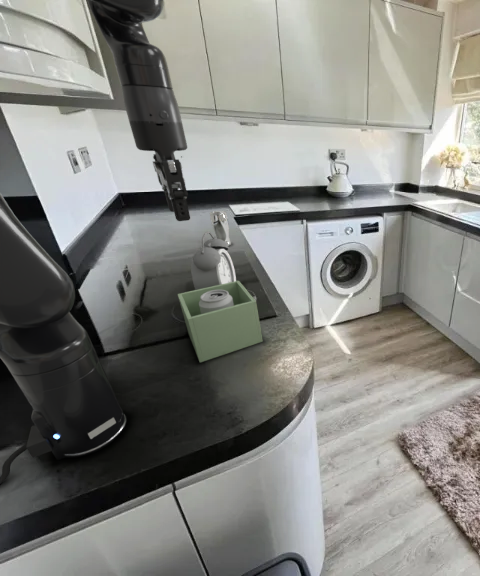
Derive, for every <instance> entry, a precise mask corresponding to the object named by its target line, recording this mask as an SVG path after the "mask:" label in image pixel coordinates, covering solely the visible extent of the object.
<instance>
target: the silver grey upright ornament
mask: <svg viewBox="0 0 480 576" xmlns="http://www.w3.org/2000/svg"><path fill="white" fill-rule="evenodd" d="M209 217H210V223H211V224H210V225H211V227H212V230H213V232H214V235H215V237H216V239H221V240H223V241H225V242H226V243H227V245H228V247H230V246H232V241H231V238H230V224H229V223H230V222H229V218H228V215H227V211H225V210H215V211H210V212H209Z"/></svg>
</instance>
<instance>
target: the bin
mask: <svg viewBox="0 0 480 576" xmlns="http://www.w3.org/2000/svg"><path fill="white" fill-rule="evenodd" d="M212 290H226V291H227V292H228V293H229V295H231V296H232V299H233V304H234V306H231V307H227V308H223V309H219V310H216V311H212V312H208V313H204V314H201V311H200V307H199V302H200V300H201V299H200V297H201V295H202V294H204V293H206V292H208V291H212ZM177 298H178V301H179V305H180V308H181V312H182V315H183V319H184V322H185V326H186V329H187V330H186V331H187V334H188V336H189V338H190V341H191V344H192V346H193V349H194V351H195V354H196V357H197V359H198V361H199V363H203V362H206V361H209V360H213V359H215V358H218V357H221V356H224V355H227V354H230V353H234V352H236V351H239V350H242V349H245V348H247V347H251V346H253V345H257V344H259V343H262V342H263V341H264V340H263V335H262V329H261V323H260V322H261V321H260V316H259V312H258V305H257V301H256V299H255V298H254V297H253V296H252V294H251V293H250V292H249V291H248V290H247V289H246V287H245V286H244V284H242V283H241V281H240V280H236V281H234V282H230V283H225V284H221V285H216V286H212V287H207V288H203V289H198V290H195V289H193V290H190V291H185V292H181V293H177Z"/></svg>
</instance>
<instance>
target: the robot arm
mask: <svg viewBox="0 0 480 576" xmlns="http://www.w3.org/2000/svg"><path fill="white" fill-rule="evenodd" d="M86 2H87V4H88V7H89V9H90V12H91V14H92V16H93V18H94V20H95V23H96V25H97V26H98V29H99V31H100V32H101V35H102V37H103V39H104V41H105V42H106V44H107V46H108V48H109V50H110V52H111V54H112V58H113V62H114V66H115V70H116V74H117V77H118V81H119V84H120V87H121V90H122V91H121V93H122V99H123V105H124V108H125V111H126V115H127V119H128V123H129V126H130V129H131V133H132V136H133V140H134V144H135V147H136V149H138V150H139V151H145V152H154V154H153V156H152V158H153V161H152V165H153V169H154V172H155V173H156V177H157V180H158V183H159V185H160V186H161V189H162V191H163V193H164V194H165V198H166V202H167V206H168V210H169V211H170V212H172V213H174V218H175V220H176V221H177V222H186V221H190V220H191V215H190V211H189V207H188V202H187V199H188V195H189V192H188V191H187V187H186V180H185V177H184V174H183V166H182V162H181V161H180V159H179V158H178V159H176V156H175V152H181V151H186V150H187V149H188V144H187V143H188V142H187V139H186V135H185V130H184V125H183V120H182V116H181V112H180V108H179V104H178V103H179V102H178V100H177V98H176V95H175V91H174V87H173V83H172V79H171V74H170V70H169V65H168V61H167V59H166V56H165V54H164V52H163V51H162V50H161V49H160V48H159V47H158V46H156V45H154V44H152V43H150V41H149V39H148V36H147V34H146V33H147V32H146V31H145V28H144V26H143V23H149V22H151V21H154V20H156V19H158V18H159V17H160V16H161V14H162V13H163V10H164V7H165V6H164V5H165V0H86ZM75 300H76V290H75V286H74V283H73V280H72V279H71V278H70V276H69V275H68V273H67V272H66V271H65V269H64V268H62V266H60V265H59V264H58V262H57V261H55V259H54V258H53V257H52V256H51V255H50V254H49V253H48V251H46V250H45V249H44V248H43V246H41V244H40V243H39V242H38V240H36V239H35V237H34V236H33V235H32V234H31V233H30V232H29V230H27V228H25V226H24V225H23V224H22V222H21V221H20V220H19V219H18V217H17V216H16V215H15V214H14V212H13V210H12V209H11V207H10V206H9V204H8V202H7V201H6V200H5V198H4V196H3V194H2V192H0V359H1V361H2V362H3V364H4V365H5V366H6V368H7V369H8V371H9V373H10V374H11V376H12V377H13V379H14V381H15V382H16V384H17V386H18V387H19V389H20V390H21V392H22V394H23V395H24V397H25V398H26V400H27V402H28V403H29V405H30V406H31V409H32V413H31V417H30V418H31V421H32V423H33V424H34V425H32V426H31V427H30V431H29V435H28V439H27V441H26V443H24V444H23V445H22V446H20V447H19V448H18V449H16V450H15V451H14V452H13V453H11V454H10V455H9V456H8V457H7V458H6V460H5V461H4V462H3V464H2V467H1V475H0V485H1V484H3V483H4V482H5V481H6V480H7V479H8V478H9V477H10V474H11V465H12V463H13V462H14V461H15V459H17V458H18V457H19V456H20V455H21V454H22V453H24V452H26V451H28V452H29V454H30V456H31V457H32V458H34V459H35V458H37V457H39V456H42V455H45V454H47V453H50V452H51V453H52V454H53V456H54V457H55V459H56V461H59V460H63V459H65V458H68V459H74V458H81V457H86V456H88V455H91V454H94V453H96V452H98V451H100V450H102V449H104V448H105V447H107V446H109V445H110V444H111V443H113V442H114V441H115V440H116V439H118V438H119V437H120V436H121V434H122V433H123V432H124V431H125V429H126V427H127V424H128V419H127V416H126V414H125V413H124V410H123V408H122V407H121V405H120V403H119V401H118V398H117V396H116V394H115V391H114V389H113V387H112V385H111V382H110V380H109V378H108V376H107V374H106V372H105V369H104V367H103V365H102V362H101V360H100V359H99V356H98V354H97V351H96V349H95V347H94V345H93V343H92V341H91V338H90V336H89V334H88V331H87V330H86V329H85V328H84V326H82V324H80V323H79V322H78V320H77V319H76V318H75V317H74V315H73V314H72V313H71V312H70V311H71V310H72V308H73V306H74V303H75Z"/></svg>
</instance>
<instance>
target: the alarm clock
mask: <svg viewBox="0 0 480 576" xmlns="http://www.w3.org/2000/svg"><path fill="white" fill-rule="evenodd" d="M208 234H209V235H210V237H211V238H210V239H207V240H206V241H205V238H206V236H207V235H208ZM228 251H229V246H228V245H227V243H226V242H225V241H223V240H221V239H217V238H216V236H214V235H213V233H211V231H206V232H204V233H203V234H202V237H201V248H199V249H198V250H196V251H195V252H194V253H193V255H192V257H191V261H190V273H191V279H192V283H193V287H194V290H198V289H203V288H207V287H212V286H216V285H221V284H225V283H230V282H234V281H237V277H236V269H235V267H234V262H233V260H232V258H231V255H230V254H229V252H228Z"/></svg>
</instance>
